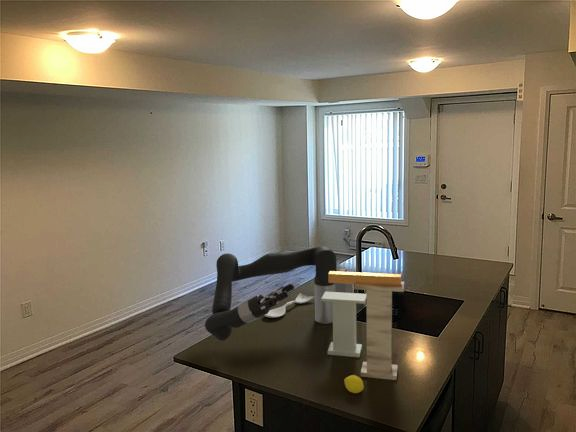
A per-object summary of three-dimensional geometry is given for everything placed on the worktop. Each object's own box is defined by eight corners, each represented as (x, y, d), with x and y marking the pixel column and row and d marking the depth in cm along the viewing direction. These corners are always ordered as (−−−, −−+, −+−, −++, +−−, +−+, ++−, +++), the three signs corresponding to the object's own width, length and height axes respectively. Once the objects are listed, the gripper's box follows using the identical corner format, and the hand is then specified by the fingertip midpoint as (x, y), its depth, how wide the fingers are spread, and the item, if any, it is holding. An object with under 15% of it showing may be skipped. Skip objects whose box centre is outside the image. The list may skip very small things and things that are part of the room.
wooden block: (330, 279, 166) (330, 271, 165) (401, 283, 160) (401, 274, 159) (328, 282, 163) (328, 273, 162) (400, 286, 157) (400, 277, 156)
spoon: (315, 301, 238) (314, 295, 237) (274, 322, 213) (274, 315, 212) (300, 298, 243) (300, 291, 243) (259, 318, 218) (258, 311, 218)
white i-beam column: (326, 344, 188) (325, 291, 184) (367, 348, 184) (366, 293, 180) (322, 354, 181) (321, 298, 177) (364, 357, 176) (364, 301, 173)
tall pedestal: (357, 364, 171) (356, 279, 166) (403, 369, 167) (404, 281, 162) (354, 375, 164) (353, 286, 158) (402, 380, 159) (403, 288, 154)
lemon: (366, 392, 154) (368, 377, 153) (357, 399, 150) (359, 384, 149) (348, 383, 158) (349, 368, 157) (339, 390, 154) (340, 375, 153)
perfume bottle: (340, 302, 235) (339, 267, 232) (352, 305, 231) (352, 269, 228) (333, 306, 229) (332, 270, 226) (345, 309, 225) (345, 272, 222)
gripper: (264, 310, 180) (300, 292, 175) (252, 325, 167) (290, 305, 162) (254, 293, 180) (289, 274, 175) (241, 307, 167) (279, 286, 162)
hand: (290, 289), depth 168 cm, fingers open, 8 cm apart
